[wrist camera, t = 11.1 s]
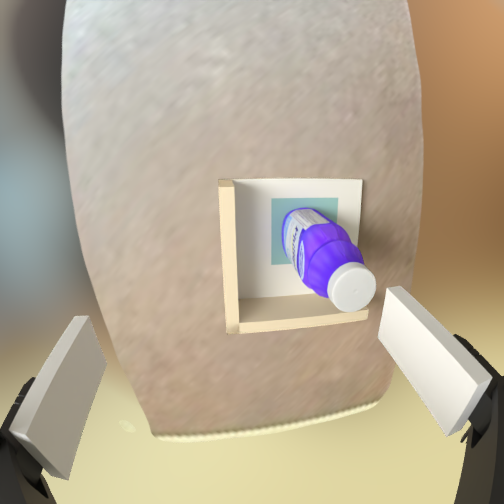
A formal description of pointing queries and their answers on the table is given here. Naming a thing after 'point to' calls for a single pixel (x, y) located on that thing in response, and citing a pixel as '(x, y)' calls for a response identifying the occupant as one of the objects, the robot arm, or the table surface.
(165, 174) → the table surface
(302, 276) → the bottle
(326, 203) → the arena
